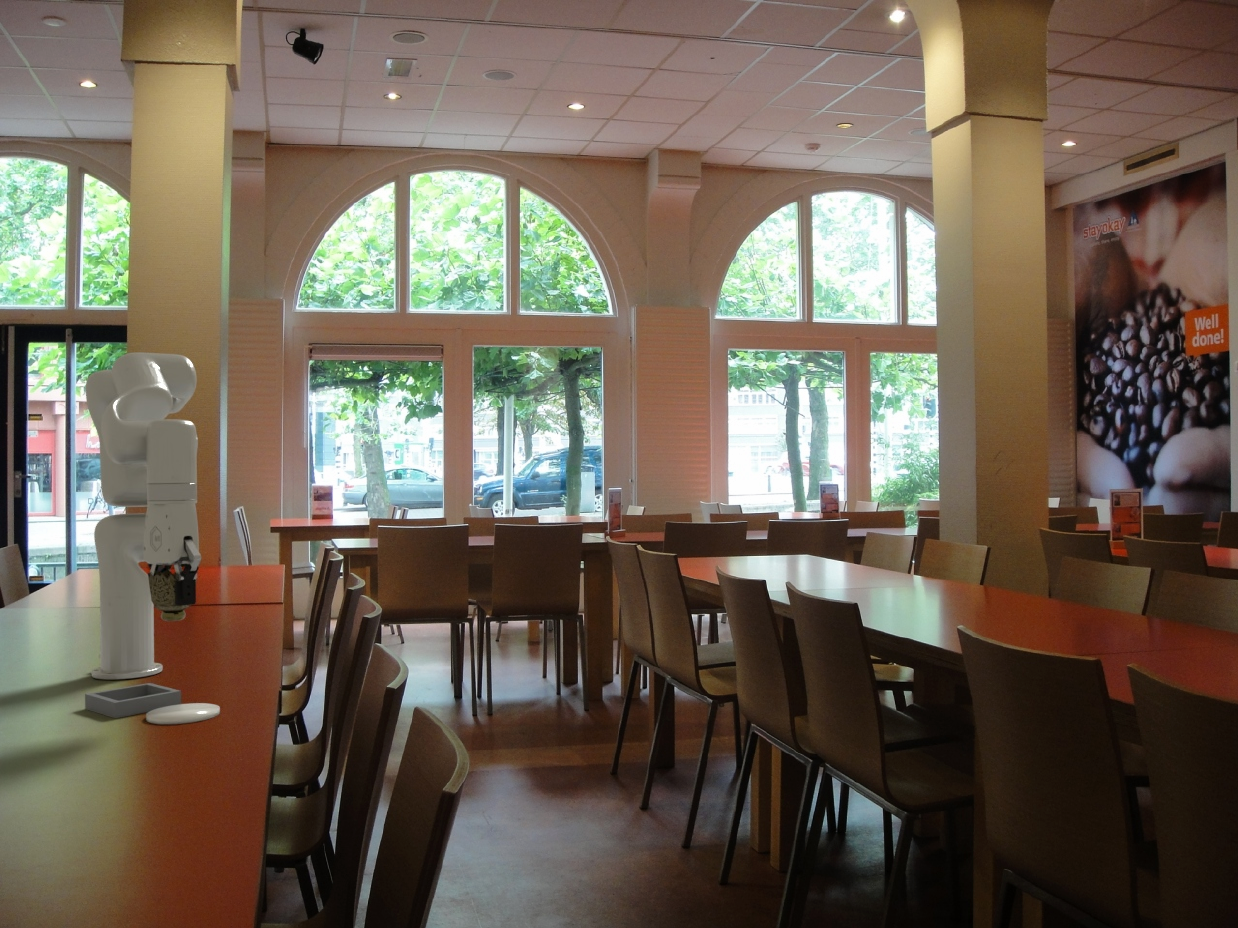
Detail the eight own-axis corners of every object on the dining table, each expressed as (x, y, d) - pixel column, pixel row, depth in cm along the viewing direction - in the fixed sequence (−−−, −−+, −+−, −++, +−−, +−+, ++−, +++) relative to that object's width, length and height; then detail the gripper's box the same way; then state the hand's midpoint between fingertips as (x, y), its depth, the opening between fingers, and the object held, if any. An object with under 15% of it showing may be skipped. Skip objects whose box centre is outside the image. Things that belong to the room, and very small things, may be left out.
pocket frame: (85, 708, 171) (85, 693, 171) (149, 697, 179) (149, 682, 179) (115, 718, 164) (115, 702, 164) (181, 705, 173) (180, 690, 173)
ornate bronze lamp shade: (178, 623, 162) (178, 573, 162) (138, 623, 163) (137, 573, 163) (207, 617, 169) (206, 569, 169) (168, 616, 171) (167, 568, 171)
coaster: (133, 717, 164) (133, 712, 164) (198, 704, 173) (198, 700, 173) (167, 727, 157) (167, 722, 157) (232, 714, 166) (232, 709, 166)
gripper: (124, 495, 169) (125, 602, 169) (175, 495, 158) (177, 609, 158) (169, 494, 175) (170, 597, 175) (221, 494, 164) (222, 604, 163)
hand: (173, 602), depth 166 cm, fingers closed on ornate bronze lamp shade, 7 cm apart
